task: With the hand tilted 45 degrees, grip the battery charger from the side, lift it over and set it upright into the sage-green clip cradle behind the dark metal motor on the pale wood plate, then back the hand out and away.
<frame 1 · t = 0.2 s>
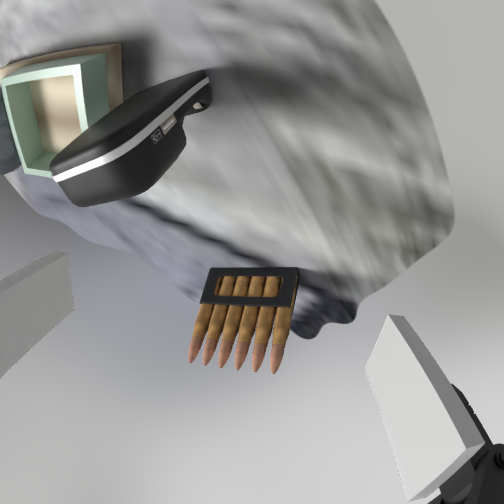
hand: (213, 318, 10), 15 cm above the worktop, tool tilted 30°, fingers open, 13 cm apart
battery charger: (177, 100, 20), on the worktop
ammunition clip: (254, 271, 34), on the worktop
motor mount: (58, 106, 20), on the worktop
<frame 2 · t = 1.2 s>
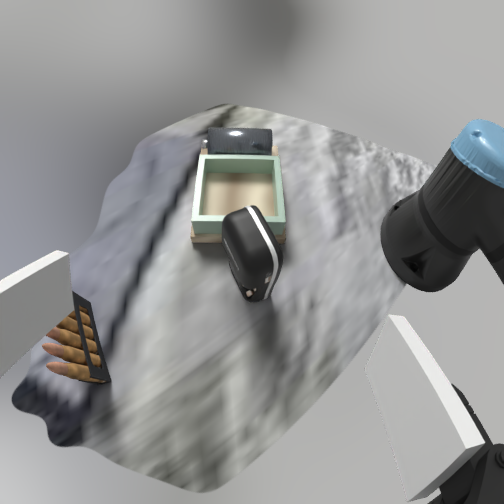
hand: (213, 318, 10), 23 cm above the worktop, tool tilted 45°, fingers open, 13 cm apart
battery charger: (245, 279, 35), on the worktop
ammunition clip: (94, 342, 30), on the worktop
motor mount: (238, 191, 41), on the worktop
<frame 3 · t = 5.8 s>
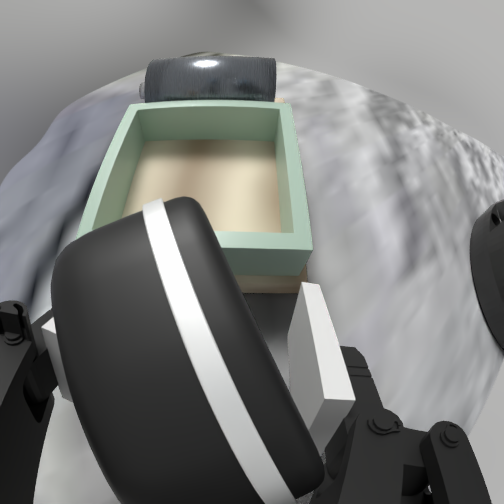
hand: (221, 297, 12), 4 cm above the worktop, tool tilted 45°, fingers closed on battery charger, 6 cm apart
battery charger: (210, 381, 14), on the worktop, touching gripper
motor mount: (206, 175, 20), on the worktop
when the fingers open (7 cm above the worktop, at t = 9.7 s): battery charger drops 1 cm, resting on motor mount.
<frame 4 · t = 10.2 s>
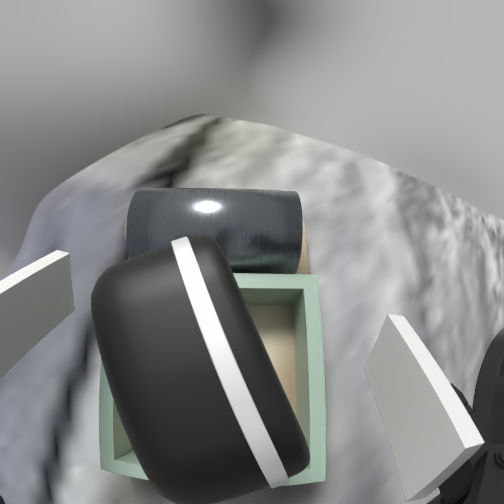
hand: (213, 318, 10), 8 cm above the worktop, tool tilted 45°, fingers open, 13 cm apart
battery charger: (210, 383, 15), point 1 cm above the worktop, touching motor mount
motor mount: (215, 344, 17), on the worktop
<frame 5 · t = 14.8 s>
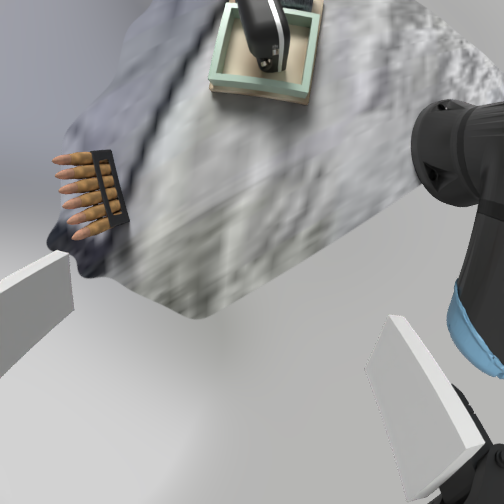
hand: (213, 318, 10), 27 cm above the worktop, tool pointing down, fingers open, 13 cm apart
battery charger: (264, 52, 29), point 1 cm above the worktop, touching motor mount
ammunition clip: (115, 186, 36), on the worktop
motor mount: (269, 39, 29), on the worktop
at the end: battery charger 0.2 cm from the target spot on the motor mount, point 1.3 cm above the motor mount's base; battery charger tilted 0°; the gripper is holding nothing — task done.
